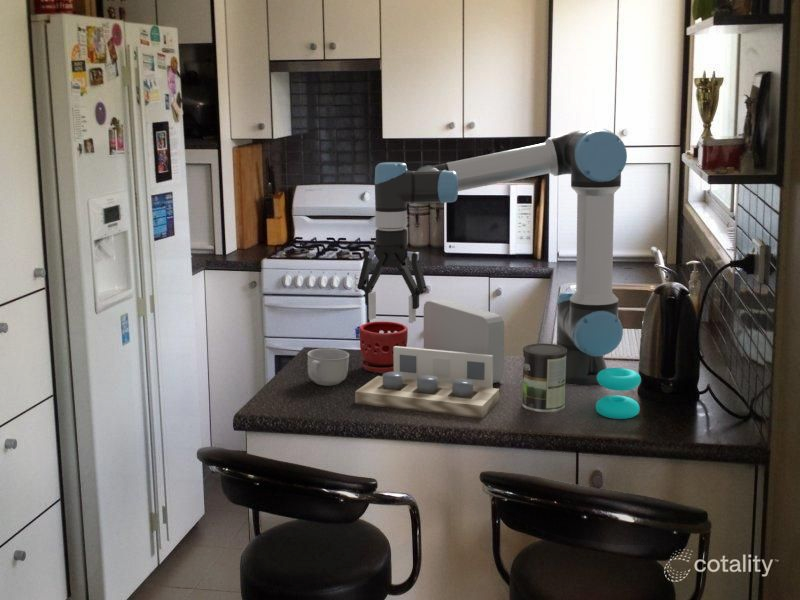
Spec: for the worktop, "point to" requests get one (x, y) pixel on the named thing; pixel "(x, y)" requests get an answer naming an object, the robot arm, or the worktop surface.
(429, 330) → the rounded white slab
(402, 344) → the plant pot
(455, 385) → the button
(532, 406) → the coffee can
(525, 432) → the worktop surface
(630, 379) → the donuts
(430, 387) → the button centre
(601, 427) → the worktop surface
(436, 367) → the pattern card
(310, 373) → the teacup
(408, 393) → the button board
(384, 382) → the button
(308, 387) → the worktop surface
